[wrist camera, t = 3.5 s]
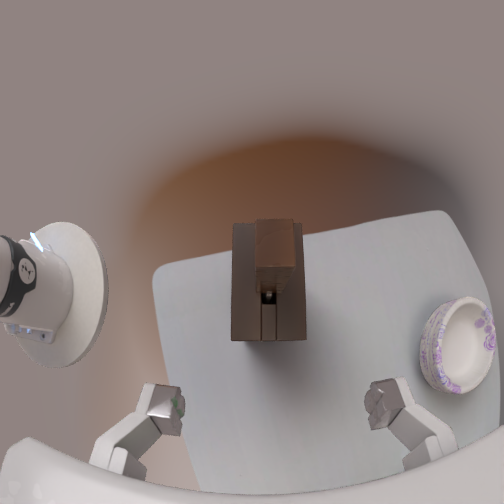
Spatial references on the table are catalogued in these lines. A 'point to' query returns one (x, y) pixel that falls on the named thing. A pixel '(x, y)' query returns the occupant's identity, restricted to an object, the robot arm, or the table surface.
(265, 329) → the knife block
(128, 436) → the robot arm
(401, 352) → the table surface
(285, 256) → the knife
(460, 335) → the paper bowls
